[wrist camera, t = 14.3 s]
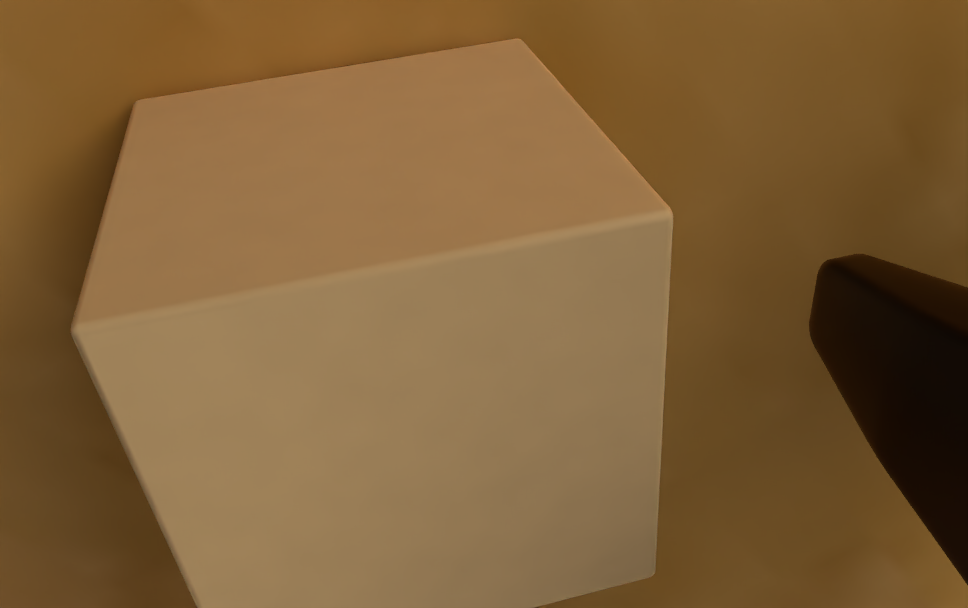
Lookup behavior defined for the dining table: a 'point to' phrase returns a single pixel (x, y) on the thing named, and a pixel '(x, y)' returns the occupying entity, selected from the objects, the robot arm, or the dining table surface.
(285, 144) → the block
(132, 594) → the dining table surface
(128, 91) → the dining table surface
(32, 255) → the dining table surface
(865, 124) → the dining table surface
